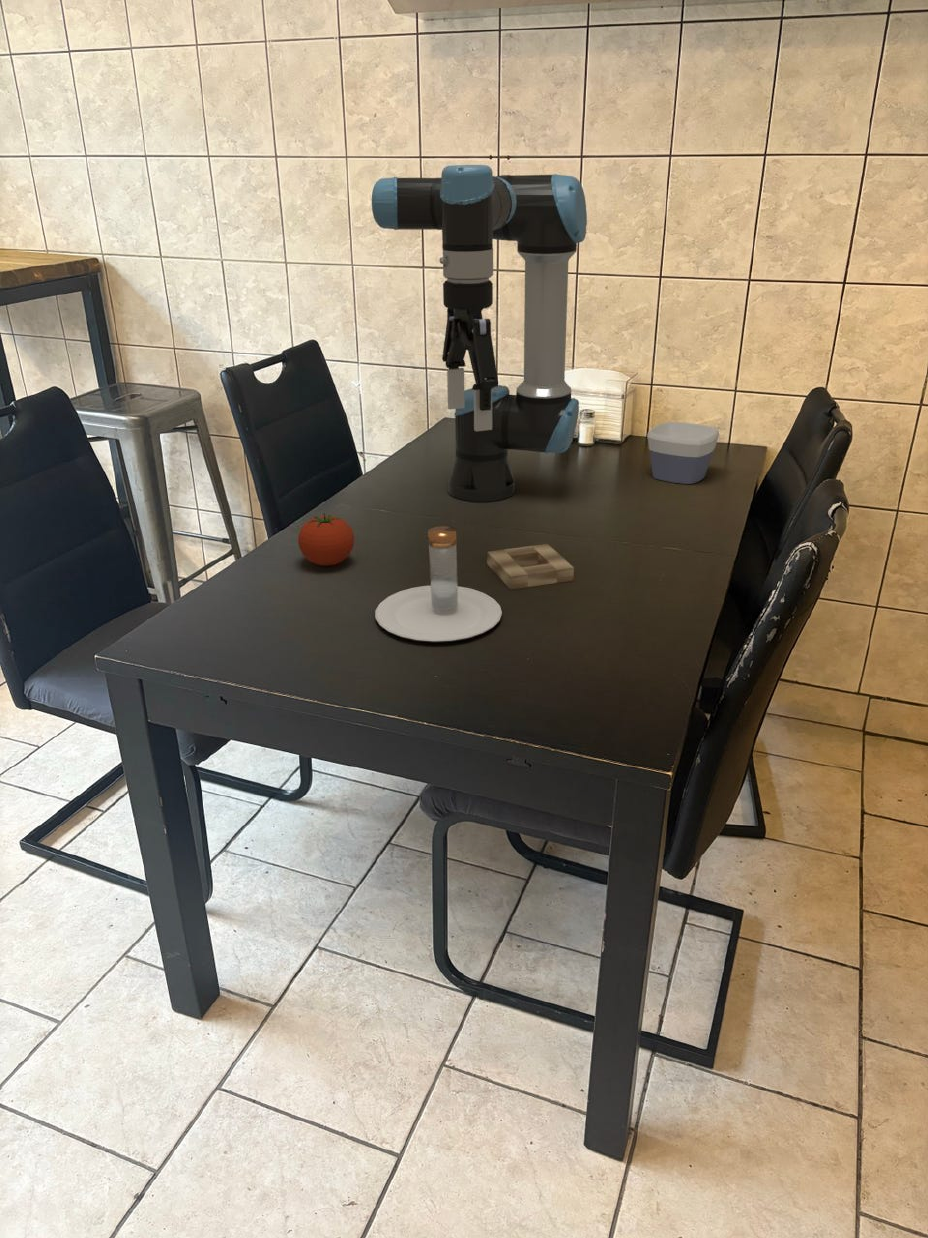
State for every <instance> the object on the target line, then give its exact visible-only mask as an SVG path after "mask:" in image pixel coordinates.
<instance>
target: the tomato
mask: <svg viewBox="0 0 928 1238" xmlns="http://www.w3.org/2000/svg"><path fill="white" fill-rule="evenodd" d="M297 542H298V543H297V544H298V547H299V549H300V552H301V553H302V555H303V556H304V558H306V559H307V560H308V561H309V562H311V563H313V564H315V565H317V566H318V565H319V566H326V567H327V566H328V567H329V566H334V565H338V564H339V563H342V562H343V561H344V560H345V559H347V558H348V557H349V556H350V554H351V552H352V550H353V548H354V545H355V543H354V542H355V536H354V531H353V530H352V528H351V526H350V525H349V523H348V522H346V521H345V520H344V519H343V518H341V517H338V516H335V515H331V514H326V513H325V512H323V515H320V516H319V515H315V516H313V517H311V518H310V519H308V520H307V521H306V522H305V523H304V524H303V525H302V526H301V528H300V530H299V534H298V537H297Z"/></svg>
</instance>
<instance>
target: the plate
mask: <svg viewBox="0 0 928 1238" xmlns="http://www.w3.org/2000/svg"><path fill="white" fill-rule="evenodd" d="M374 613H375V614H374V615H375V616H374V617H375V619H374V620H375V621H376V622H377V624H378V626H379V627H381V628H382V629H384V630H385V631H386V632H387V633H389V634H391V635H394V636H396V637H398V638H401V639H405V640H409V641H414V642H419V643H420V642H422V643H430V644H431V643H434V644H436V643H437V644H439V643H440V644H441V643H454V642H460V641H466V640H469V639H473V638H475V637H478V636H482V635H483V634H486V633H487V632H489V631H491V630H492V629H494V628H495V627H496V625H497V624H498V623H499V622H500V620H501V618H502V614H503V611H502V609H501V604H499V603H498V602H497V601H496V600H495V598H493V597H491V596H489V595H488V594H486V593H485V592H482V591H479V590H476V589H473V588H469V587H465V586H458V606H457V607H456V608H455V609H452V610H447V611H441V610H436V609H434V608H433V607H432V601H431V585H422V586H416V587H410V588H408V589H403V590H400V591H398V592H395V593H393V594H391V595H389V596H387V597H386V598H385V599H383V600H382V601H381V602H380V603H379V604H378V606H377V607H376V609H375V611H374Z"/></svg>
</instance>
